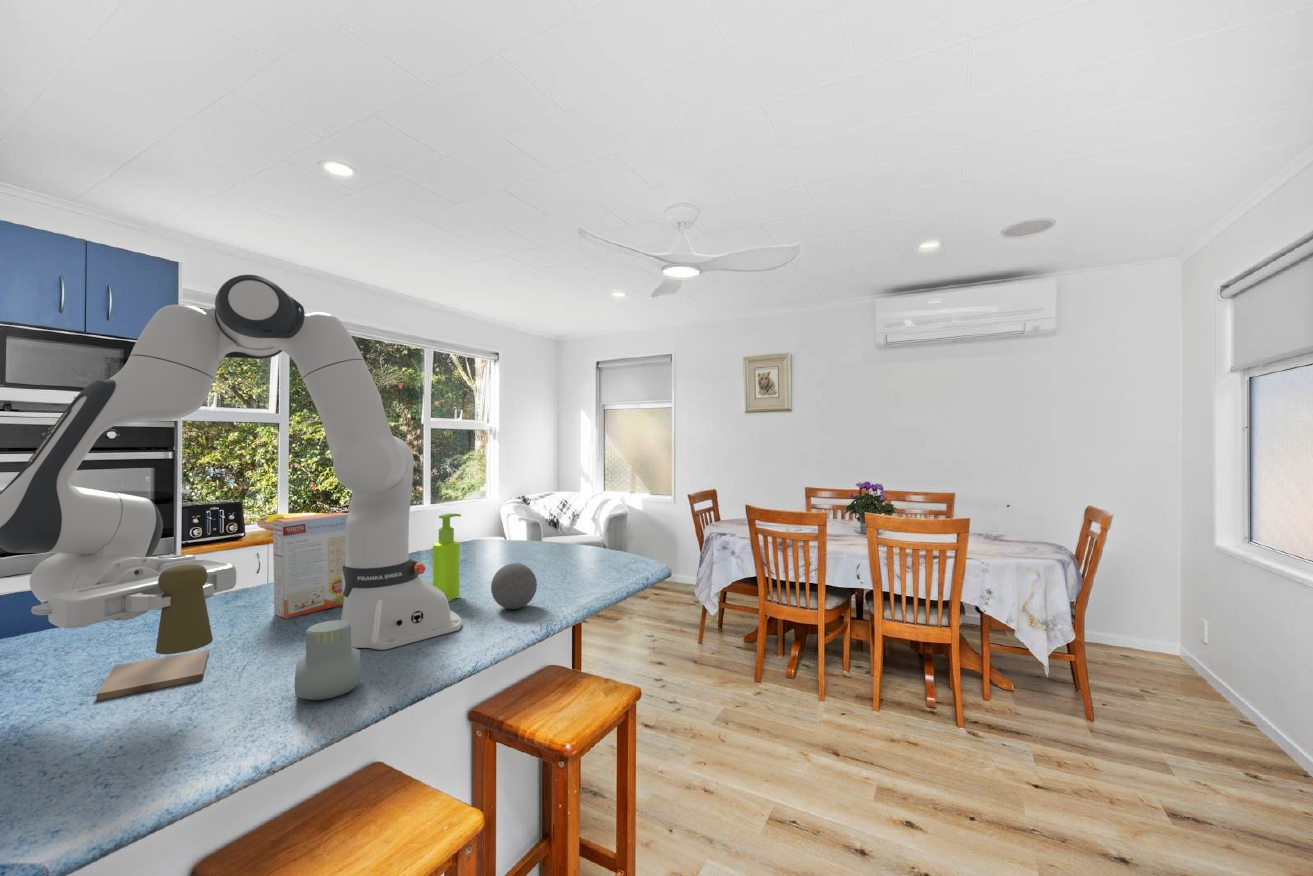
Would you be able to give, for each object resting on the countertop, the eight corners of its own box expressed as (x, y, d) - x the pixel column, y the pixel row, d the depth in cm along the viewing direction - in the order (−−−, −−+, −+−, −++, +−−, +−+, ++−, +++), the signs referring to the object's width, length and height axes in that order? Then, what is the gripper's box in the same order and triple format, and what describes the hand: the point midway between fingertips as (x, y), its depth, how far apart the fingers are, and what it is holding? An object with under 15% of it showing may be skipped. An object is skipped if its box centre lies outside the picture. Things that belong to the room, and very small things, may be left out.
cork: (168, 657, 72) (167, 573, 72) (146, 649, 75) (144, 568, 75) (222, 641, 78) (220, 563, 77) (199, 634, 80) (197, 559, 80)
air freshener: (299, 683, 87) (299, 620, 87) (359, 672, 91) (359, 611, 91) (293, 714, 77) (293, 642, 77) (360, 700, 81) (360, 632, 81)
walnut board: (208, 655, 97) (208, 649, 97) (202, 680, 88) (202, 673, 88) (114, 672, 91) (114, 666, 91) (96, 700, 81) (96, 694, 81)
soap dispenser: (467, 595, 135) (467, 513, 135) (445, 602, 128) (446, 516, 128) (449, 592, 137) (449, 511, 137) (427, 599, 131) (427, 515, 131)
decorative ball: (488, 604, 127) (488, 561, 127) (531, 599, 131) (531, 557, 131) (494, 617, 118) (494, 571, 118) (541, 611, 122) (541, 566, 122)
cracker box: (339, 599, 131) (339, 511, 131) (352, 603, 128) (352, 513, 127) (272, 614, 120) (272, 518, 120) (283, 620, 116) (283, 520, 116)
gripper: (22, 584, 70) (88, 595, 66) (200, 551, 90) (260, 558, 85) (23, 634, 71) (89, 648, 66) (200, 590, 90) (261, 599, 85)
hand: (187, 597), depth 76 cm, fingers closed on cork, 4 cm apart
